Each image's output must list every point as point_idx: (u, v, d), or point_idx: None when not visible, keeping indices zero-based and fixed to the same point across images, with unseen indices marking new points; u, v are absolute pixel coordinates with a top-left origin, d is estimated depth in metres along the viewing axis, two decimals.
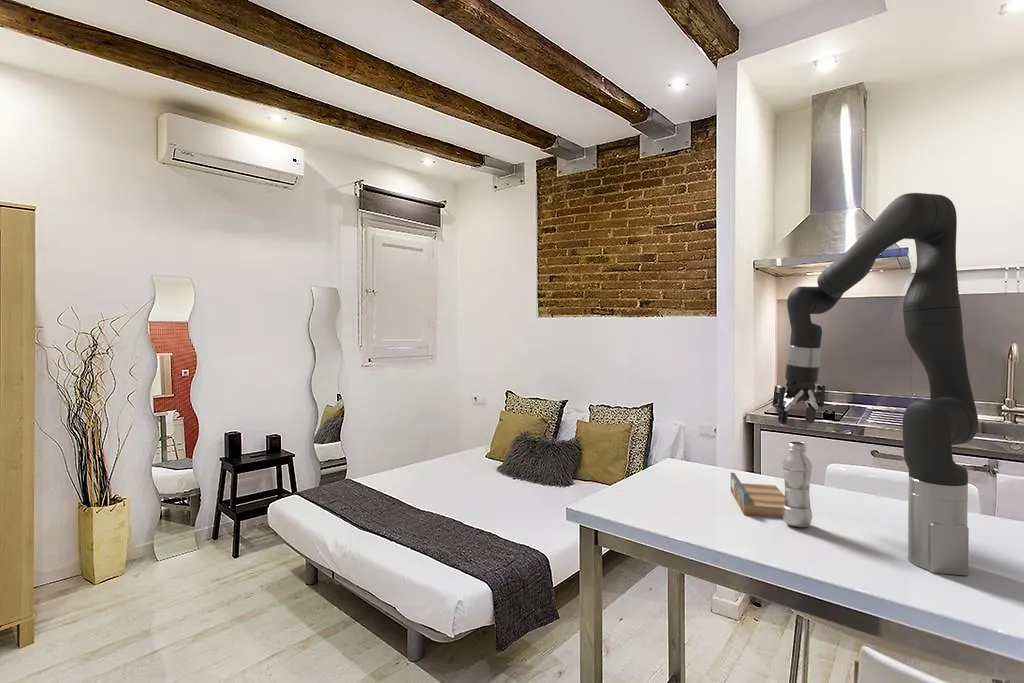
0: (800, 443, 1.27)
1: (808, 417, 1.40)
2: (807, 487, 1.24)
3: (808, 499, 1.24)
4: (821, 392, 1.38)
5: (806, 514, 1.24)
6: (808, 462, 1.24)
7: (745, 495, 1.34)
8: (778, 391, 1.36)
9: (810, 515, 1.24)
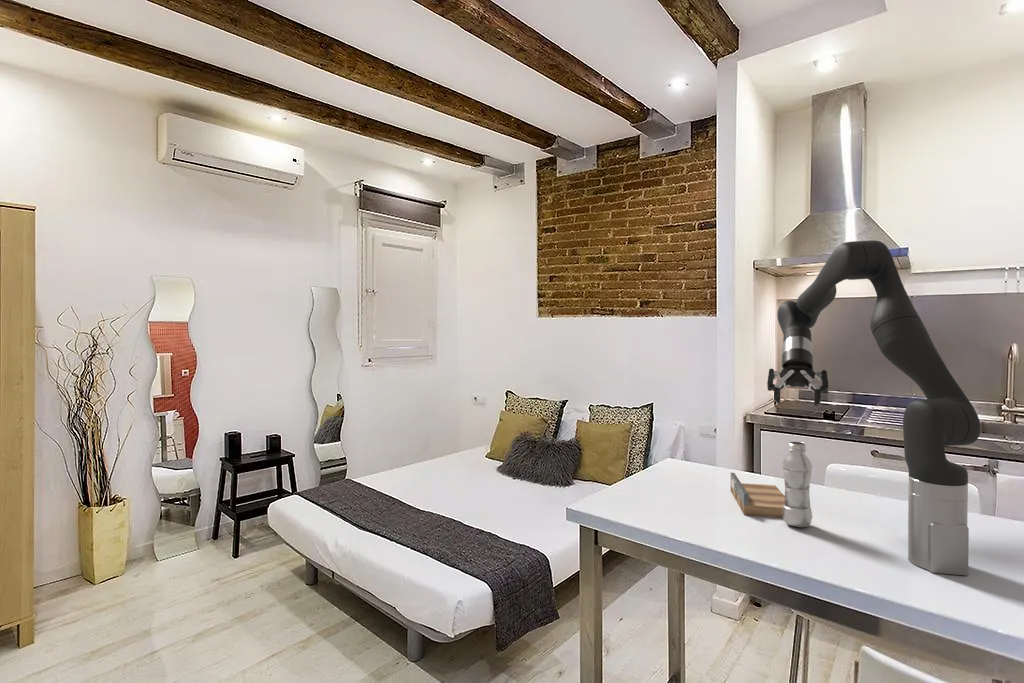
0: (800, 443, 1.27)
1: None
2: (807, 487, 1.24)
3: (808, 499, 1.24)
4: (822, 375, 1.38)
5: (806, 514, 1.24)
6: (808, 462, 1.24)
7: (745, 495, 1.34)
8: None
9: (810, 515, 1.24)
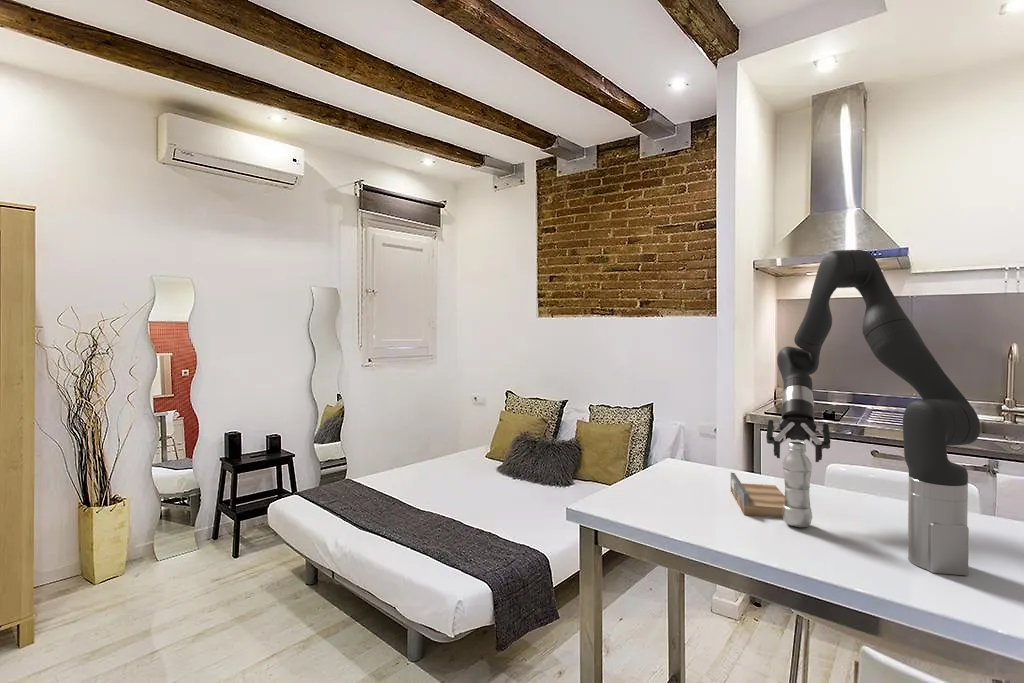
0: (800, 443, 1.27)
1: (815, 455, 1.29)
2: (807, 487, 1.24)
3: (808, 499, 1.24)
4: (824, 429, 1.32)
5: (806, 514, 1.24)
6: (808, 462, 1.24)
7: (745, 495, 1.34)
8: (768, 426, 1.39)
9: (810, 515, 1.24)
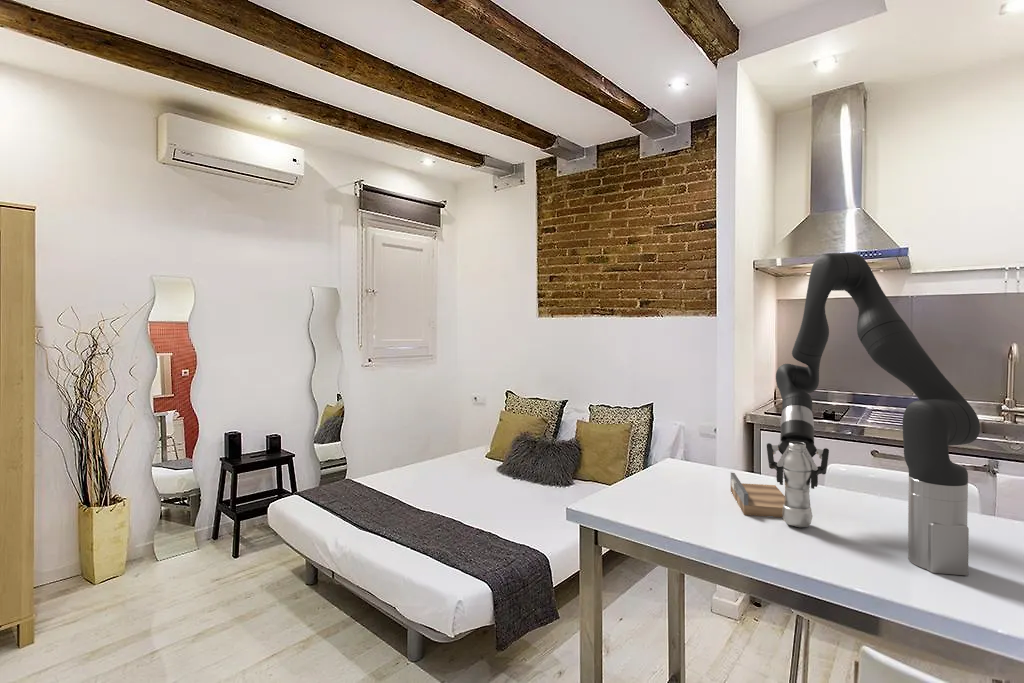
0: (800, 443, 1.27)
1: (811, 481, 1.24)
2: (807, 487, 1.24)
3: (808, 499, 1.24)
4: (823, 454, 1.27)
5: (806, 514, 1.24)
6: (808, 462, 1.24)
7: (745, 495, 1.34)
8: (767, 450, 1.33)
9: (810, 515, 1.24)
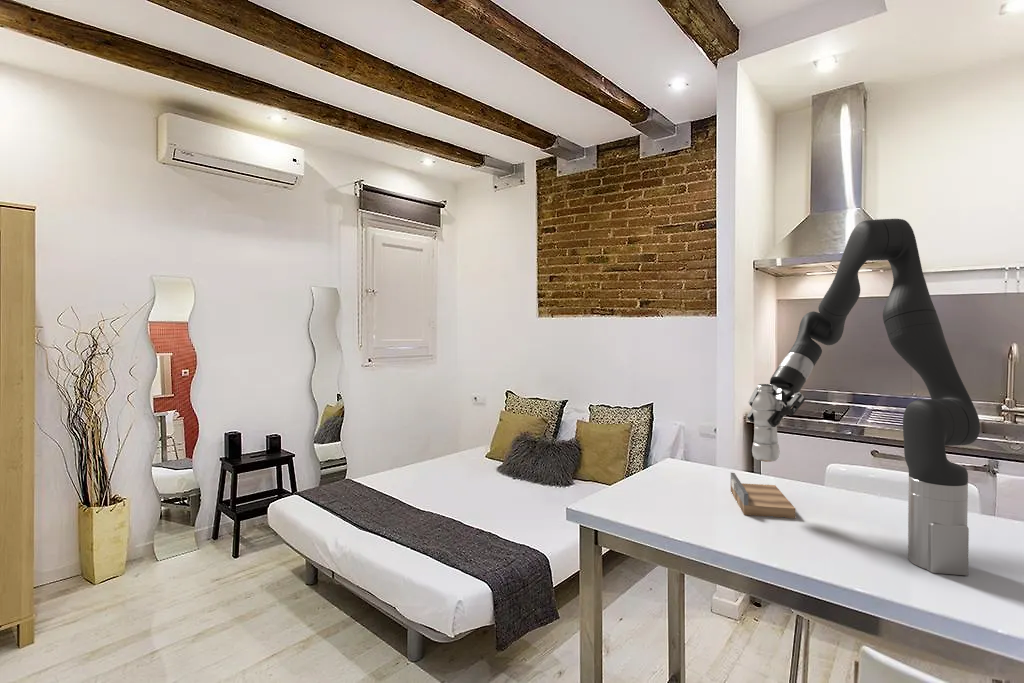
0: (771, 385, 1.36)
1: None
2: (768, 425, 1.34)
3: (770, 436, 1.34)
4: (793, 397, 1.32)
5: (765, 449, 1.34)
6: (769, 402, 1.33)
7: (745, 495, 1.34)
8: None
9: (771, 451, 1.33)
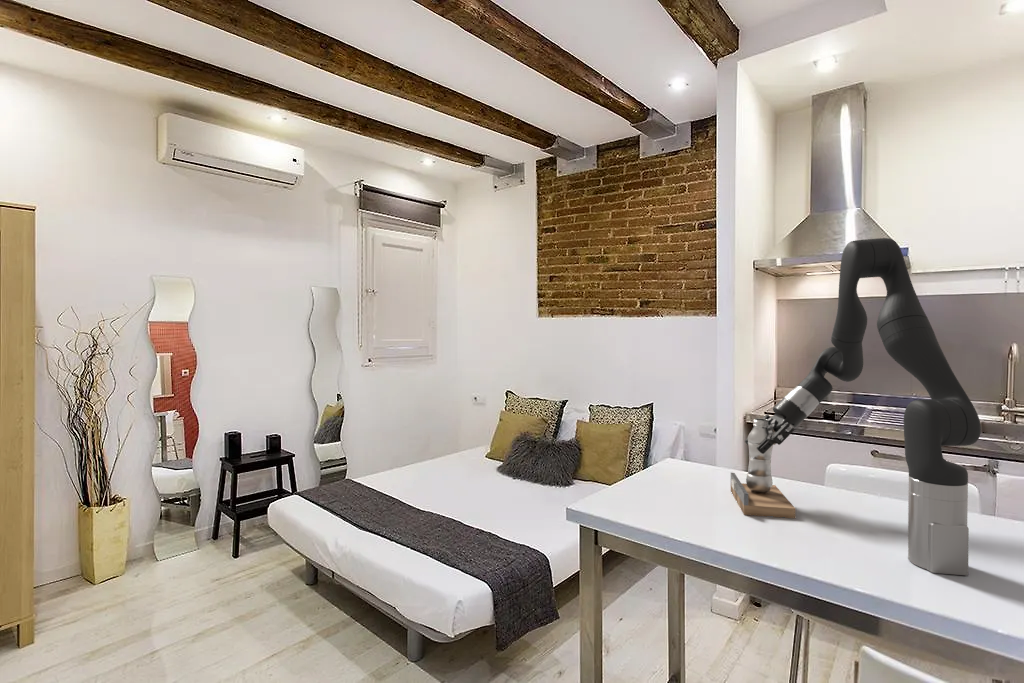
0: (767, 421, 1.43)
1: None
2: (757, 457, 1.43)
3: (759, 468, 1.42)
4: (781, 427, 1.39)
5: (753, 479, 1.43)
6: (759, 436, 1.42)
7: (745, 495, 1.34)
8: None
9: (758, 482, 1.42)
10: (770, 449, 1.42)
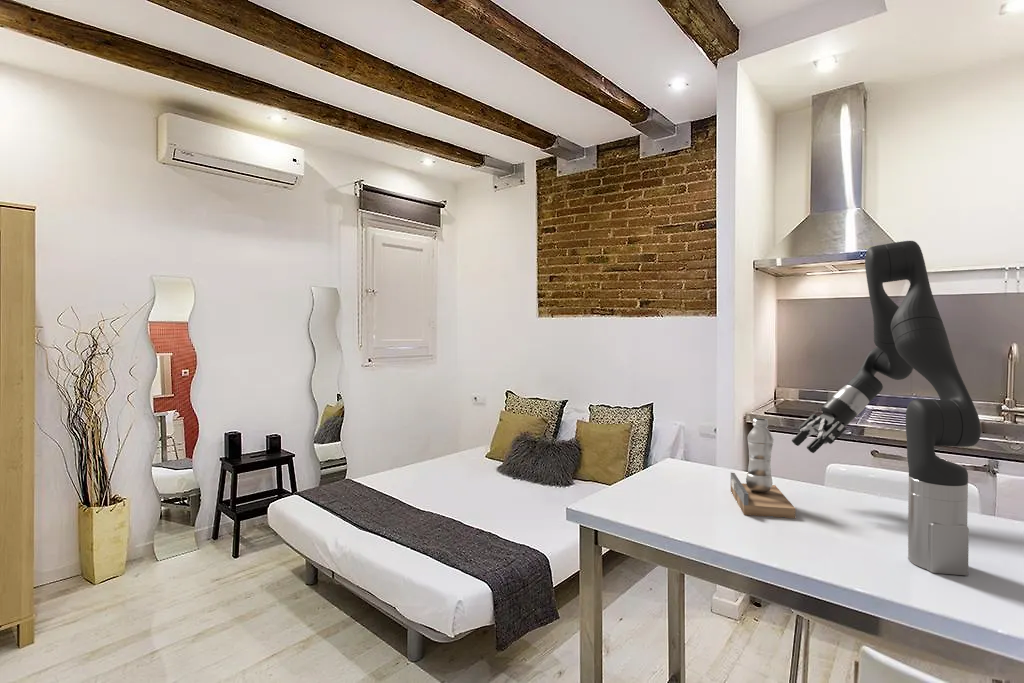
0: None
1: None
2: (757, 457, 1.43)
3: (758, 468, 1.43)
4: (832, 426, 1.38)
5: (753, 479, 1.43)
6: (758, 435, 1.43)
7: (745, 495, 1.34)
8: None
9: (758, 481, 1.42)
10: (770, 448, 1.43)
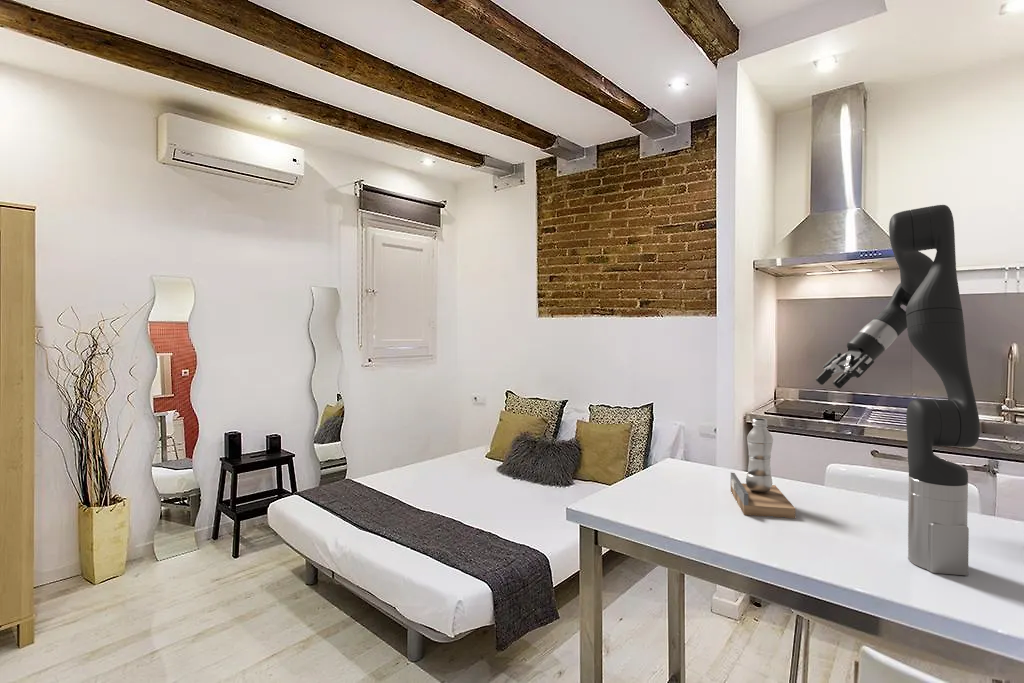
0: (766, 420, 1.44)
1: None
2: (756, 457, 1.43)
3: (758, 468, 1.43)
4: (860, 360, 1.33)
5: (753, 479, 1.43)
6: (758, 435, 1.43)
7: (745, 495, 1.34)
8: None
9: (758, 482, 1.42)
10: (769, 448, 1.43)
